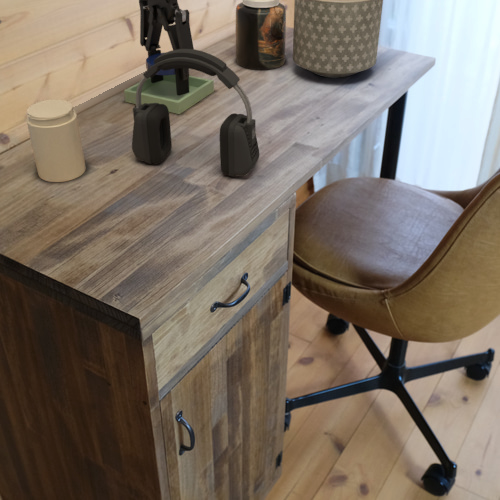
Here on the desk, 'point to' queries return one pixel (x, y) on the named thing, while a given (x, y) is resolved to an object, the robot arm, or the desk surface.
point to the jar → (260, 34)
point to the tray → (171, 93)
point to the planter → (336, 35)
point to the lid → (151, 62)
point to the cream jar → (55, 140)
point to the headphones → (158, 122)
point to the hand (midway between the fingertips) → (169, 87)
